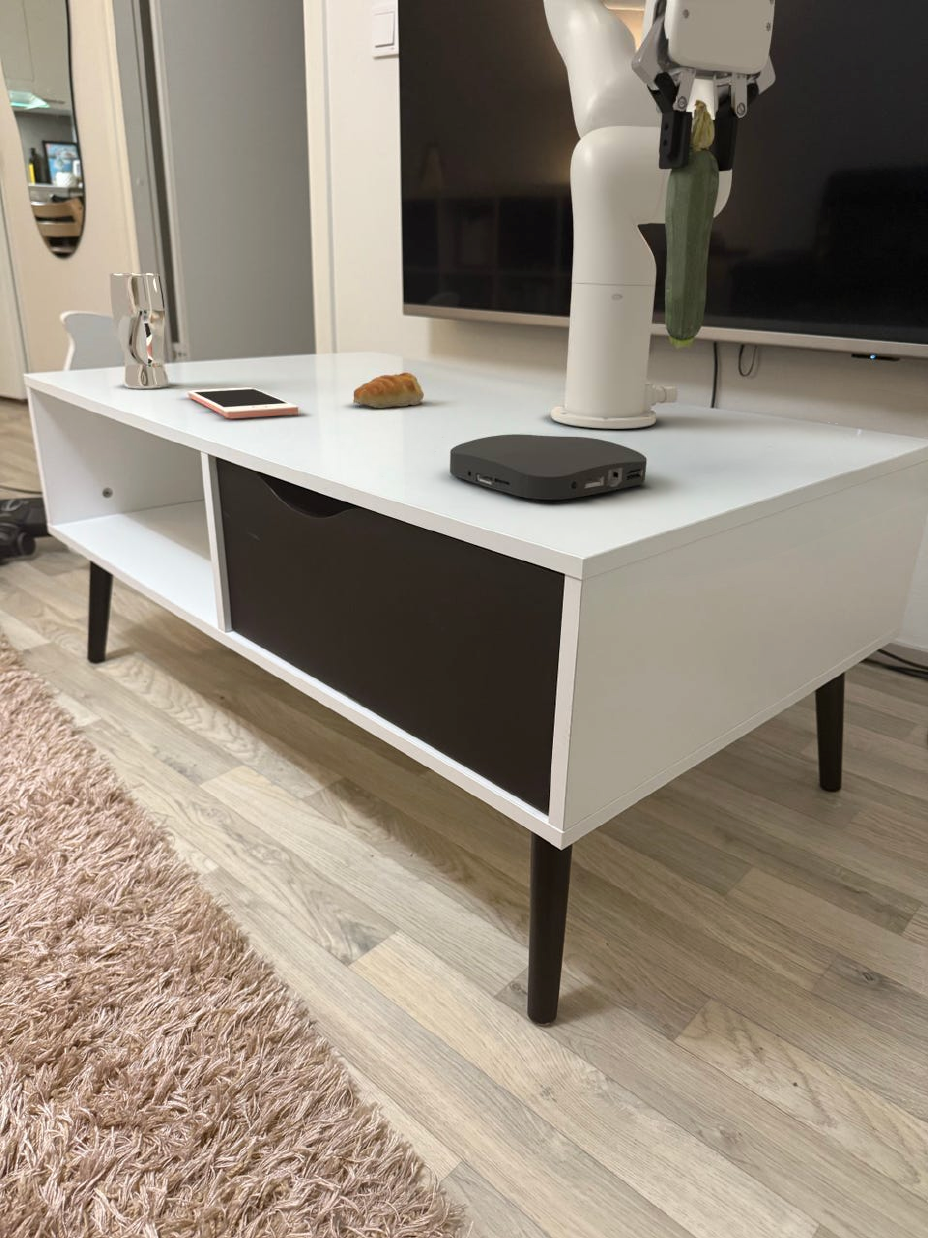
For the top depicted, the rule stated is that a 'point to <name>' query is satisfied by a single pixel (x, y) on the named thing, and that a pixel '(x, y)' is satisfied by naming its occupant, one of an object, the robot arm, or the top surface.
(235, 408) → the cell phone
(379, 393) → the pastry
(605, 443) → the media streaming box
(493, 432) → the top surface
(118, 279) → the silver vase
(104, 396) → the top surface
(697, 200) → the vegetable
